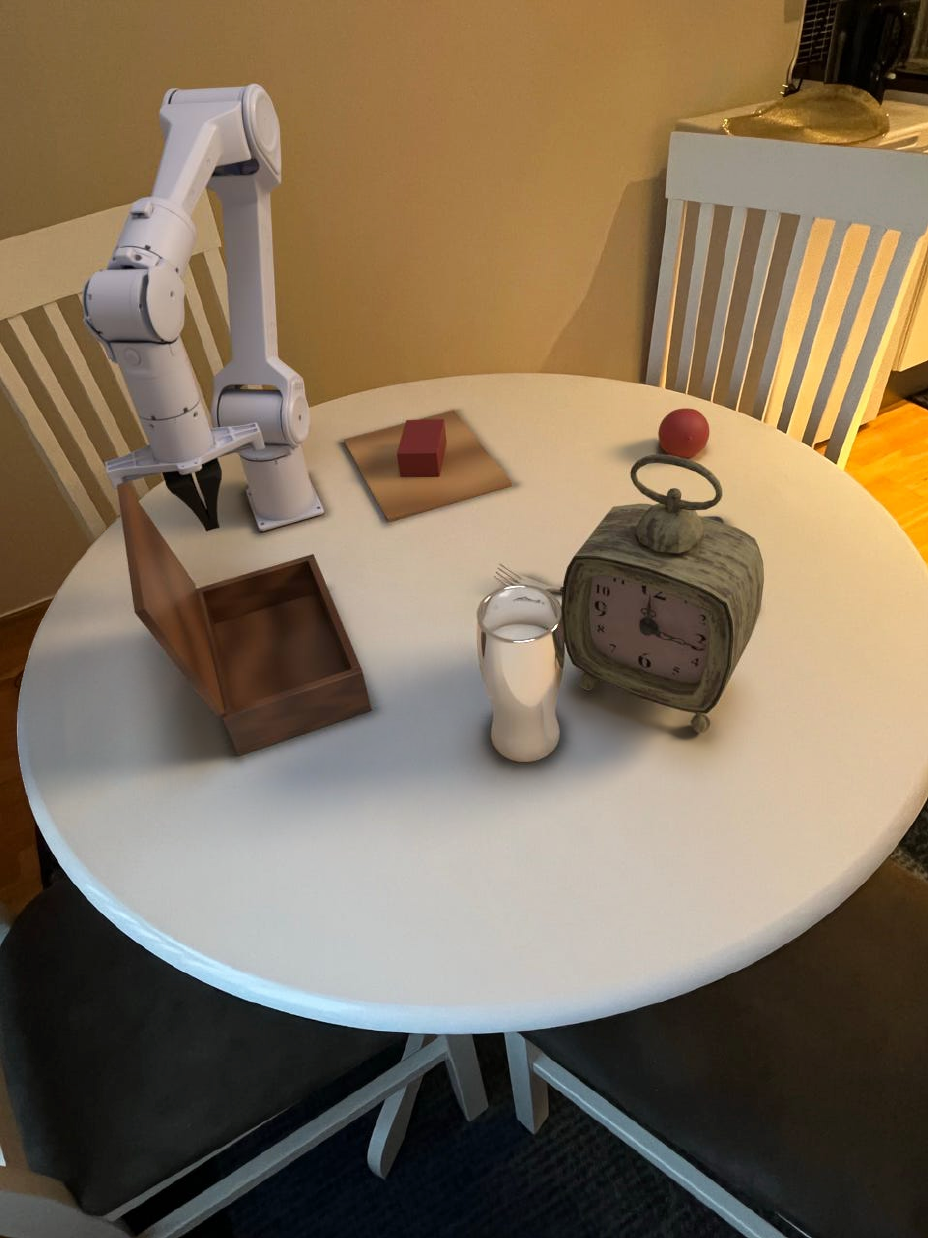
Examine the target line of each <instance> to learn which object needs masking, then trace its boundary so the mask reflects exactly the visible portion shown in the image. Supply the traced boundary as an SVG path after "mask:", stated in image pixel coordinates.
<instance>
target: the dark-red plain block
mask: <svg viewBox="0 0 928 1238" xmlns="http://www.w3.org/2000/svg"><path fill="white" fill-rule="evenodd" d="M404 423H405V426H404V430H403V433H402V437H401V440H400V444H399V447H398V451H397V458H398V465H399V471H400V477H439V476H440V472H441V467H442V462H443V457H444V453H445V448H446V443H447V441H446V431H445V422H444V419H426V420H419V419H406V420H405V422H404Z"/></svg>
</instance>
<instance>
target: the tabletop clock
mask: <svg viewBox="0 0 928 1238" xmlns="http://www.w3.org/2000/svg"><path fill="white" fill-rule="evenodd" d="M649 464H651V465H652V464H665V465H671V466H675V467H680V468H684V469H686V470H689V471H692V472H695V473H696V474H698V475H700V476H702V477H703V478H705V479H706V480H707V481H708V482H709V483H710V484H711V486H712V488H713V489H714V490H715V496H714V498H713V499H709V500H707V501H690V500H685V499H682V492H681V490H680V489H678V488H676V487H671V488H669V489H668V490H667V492H666V495H665V494H662V493H659V492H657V491H655V490H653V489H651V488H649V487H647V486H646V485H644V484H643V483H642V482H641V481H640V480H639V479H638V475H637V474H638V470H639V469H641V468H642V467H644V466H647V465H649ZM630 479H631V481H632V483H633V485H634V486H635V488H636V489H637V490H638V491H639V492H640V494H642V495H644V497H646V498H647V499H648V498H649V499H650V500H652V501H653V502H656V503H655V504H651V503H633V504H625V505H617V506H612V507H611V508H610V510H609V511H608V512H607V513H606V515H605V516H604V517H603V519H602V520H601V521H600V523H599V524H598V525H597V526H596V528H595V529H594V530H593V531H592V533H591V534H589V536H588V538H587V539H586V540H585V542H583V544H582V545H581V547H580V548H578V551H577V552H576V553H575V554H574V555H573V557H572V559H571V561H570V562H569V564H568V565H567V566H566V567H567V568H566V570H565V573H564V578H563V581H562V582H563V583H562V587H563V592H561V593H562V594H561V603H560V605H561V608H562V621H563V629H564V641H565V651H566V653H567V656H568V658H569V659H570V662H571V665H573V666H574V667H576V668H577V669H579V670H580V671H581V672H582V673H583V674H582V675H581V676H580V677H579V684H580V687H581V688H582V689H584V690H587V691H592V690H593V689H594V688H596V687H597V685H598V681H600V682H602V683H604V684H606V685H609V686H611V687H613V688H615V689H618V690H620V691H623V692H626V693H627V694H629V695H632V696H634V697H637V698H640V699H643V700H646V701H649V702H651V703H656V704H658V705H662V706H665V707H667V708H671V709H674V710H678V711H681V712H687V713H691V714H695V715H694V716H692V718H691V720H690V726H691V728H692V730H693V731H694V732H696V733H700V734H702V733H706V732H707V731H708V730H709V728H710V727H711V721H710V719H709V717H708V716H707V714H709V712H711V711H712V710H713V709H714V708H715V707H716V706H717V704H718V702H719V701H720V698H721V697H722V695H723V693H724V691H725V689H726V687H727V685H728V683H729V681H730V679H731V677H732V675H733V674H734V672H735V670H736V668H737V666H738V664H739V662H740V660H741V658H742V656H743V654H744V652H745V650H746V649H747V646H748V644H749V642H750V640H751V639H752V636H753V633H754V631H755V627H756V625H757V621H758V619H759V615H760V613H761V609H762V600H763V593H764V592H763V590H764V583H765V569H764V561H763V557H762V554H761V551H760V547H759V544H758V543H757V539H756V538H755V537H753V536H752V535H750V534H749V533H747V532H746V531H744V530H742V529H740V528H738V527H735V526H734V525H731V524H727V523H725V522H724V523H721V522H718V521H715V520H711V519H708V518H705V517H706V516H702V515H699V514H698V512H697V511H707V510H709V509H711V508H714V507H715V506H717V505H718V504H719V502H720V501H721V500H722V497H723V495H724V494H723V487H722V485H721V483H720V479H718V477H717V476H716V475H715V474H714V473H713V472H712V471H711V470H710V469H708V468H706V467H705V466H704V465H702V464H701V463H698V462H696V461H693V460H691V459H689V458H687V459H685V458H681V457H677V456H672V455H668V454H663V453H662V454H661V453H654V454H649V455H645V456H642V457H641V458H639V459H638V460H636V461H635V462H634V464H633V465H632V466H631V470H630Z"/></svg>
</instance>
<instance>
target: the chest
mask: <svg viewBox="0 0 928 1238" xmlns="http://www.w3.org/2000/svg"><path fill="white" fill-rule="evenodd" d="M196 590H197V594H198V598H199V603H200V607H201V611H202V616H203V620H204V624H205V628H206V633H207V637H208V641H209V646H210V650H211V654H212V659H213V663H214V667H215V672H216V676H217V680H218V685H219V689H220V693H221V698H222V702H223V706H224V711H225V713H224V714H221V718H222V720H223V723H224V725H225V727H226V730H227V732H228V735H229V736H230V739H231V741H232V744H233V746H234V748H235V750H236V752H237V755H238V757H240V756H243V755H246V754H248V753H252V752H255V751H257V750H260V749H263V748H266V747H270V746H272V745H275V744H278V743H280V742H283V741H287V740H289V739H292V738H295V737H298V736H300V735H304V734H307V733H310V732H313V731H315V730H319V729H321V728H324V727H327V726H329V725H330V726H331V725H332V724H336V723H339V722H341V721H345V720H348V719H350V718H353V717H356V716H359V715H362V714H365V713H367V712H370V711H372V710H373V708H372V704H371V700H370V696H369V692H368V688H367V684H366V680H365V675H364V671H363V669H362V667H361V664H360V662H359V659H358V657H357V655H356V653H355V650H354V647H353V645H352V643H351V640H350V638H349V635H348V632H347V631H346V628H345V626H344V623H343V621H342V619H341V616H340V614H339V611H338V609H337V607H336V604H335V602H334V599H333V597H332V595H331V594H332V593H331V592H330V590H329V587H328V585H327V583H326V580H325V578H324V575H323V573H322V570H321V569H320V566H319V563H318V561H317V558H316V556H315V554H314V553H311V554H309V555H305V556H301V557H298V558H295V559H292V560H288V561H284V562H281V563H278V564H274V565H271V566H268V567H265V568H262V569H258V570H254V571H251V572H248V573H245V574H241V575H237V576H234V577H231V578H227V579H224V580H221V581H217V582H213V583H211V584H207V585H204V586H201V587H196Z"/></svg>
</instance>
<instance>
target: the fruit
mask: <svg viewBox="0 0 928 1238" xmlns="http://www.w3.org/2000/svg"><path fill="white" fill-rule="evenodd" d="M657 433H658V442H659V444H660V446H661V448H662V449H663V450H664V452H665V453H666V455H672V456H677V457H681V458H685V459H691V458H693V457H695V456H697V455H698V454H699V453H701V452H702V451H703V450H704V448H705V447H706V445H707V443H708V441H709V438H710V425H709V422H708V420H707V418H706V416H705V415H704V414H703V413H702V412H700V411H699V410H696V409H693V408H678V409H675V410H672V411H670V412H669V413H667V414H666V415H665V416H664V417H663V419H662V420H661V422H660V424H659V427H658V432H657Z"/></svg>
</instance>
